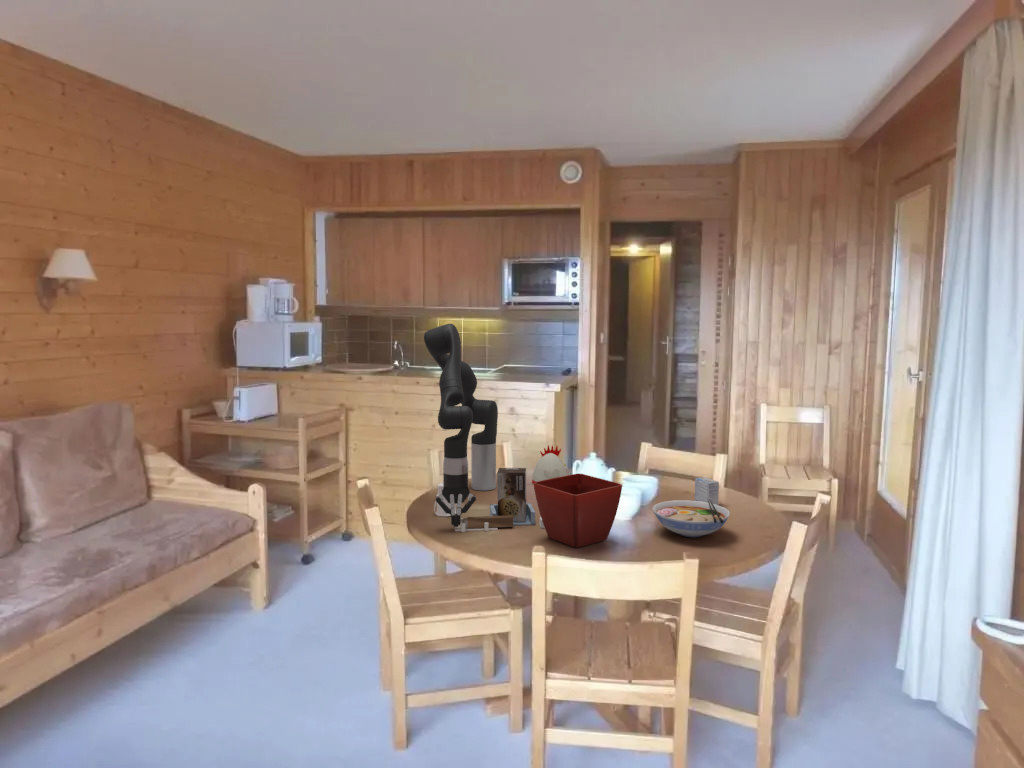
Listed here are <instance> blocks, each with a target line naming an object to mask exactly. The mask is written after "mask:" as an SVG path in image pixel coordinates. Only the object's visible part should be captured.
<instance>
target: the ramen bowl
mask: <svg viewBox="0 0 1024 768" xmlns="http://www.w3.org/2000/svg"><path fill="white" fill-rule="evenodd" d="M707 500H708V499H707ZM709 500H710V499H709ZM710 502H711V501H710ZM652 511H653V513H654V515H655V517H656V518H657V520H658V521H659V523H660V524H661V526H663V527H664V528H666V529H667V530H669V531H670V532H673V533H676V534H677V535H679V536H682V537H684V538H685V537H686V538H700V537H703V536H706V535H711V534H713V533H714V532H716V531H718V530H720V529H721V528H722V527H723V526H724V525H725V524H726V523H727V521H728V519H729V517H730V514H731V511H729V510H728V508H726V507H723V506H721V505H719V504H718V505H716V504H712V502H711V503H709V501H708V503H707V502H701V501H695V500H689V499H686V500H685V499H683V500H681V499H679V500H677V499H674V500H667V501H661V502H658V503H655V504H654V505H653V506H652Z"/></svg>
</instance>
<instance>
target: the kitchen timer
mask: <svg viewBox="0 0 1024 768" xmlns="http://www.w3.org/2000/svg"><path fill="white" fill-rule="evenodd" d="M558 449H559V447H558V445H556V446H555V449H554V446H553V444H551V449H550V445H549V444H548V445H547V448H545V447H543V451H544V453H543V452H542V451H541V450H540V455H541V457H540V458H539V459H538V460H537V462H536V463H535V465H534V468H533V472H532V476H531V483H532V485H533V486H534V482H537V481H542V480H547V479H552V478H557V477H562V476H567V475H568V472H567V470H566V469H567V468H566V465H567V464H566V463H564V462H563V460H562V459H561V457H560V456H559V455H560V453H561V451H562V448H560V449H559V450H558Z"/></svg>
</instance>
